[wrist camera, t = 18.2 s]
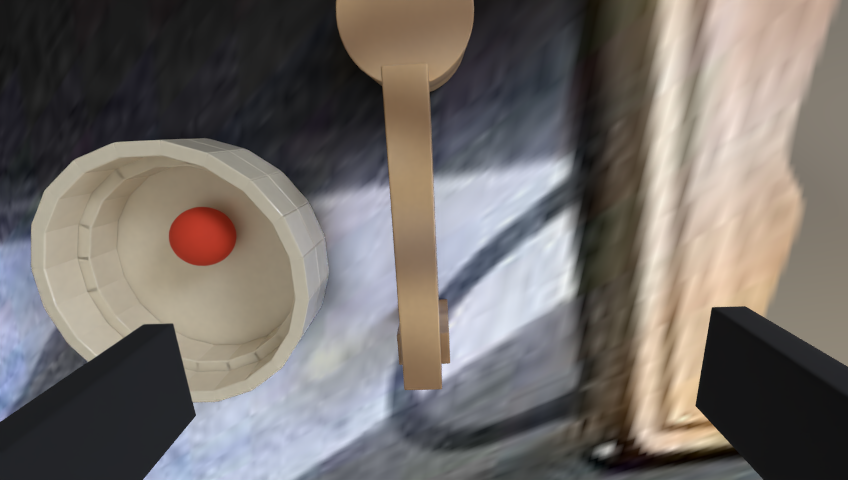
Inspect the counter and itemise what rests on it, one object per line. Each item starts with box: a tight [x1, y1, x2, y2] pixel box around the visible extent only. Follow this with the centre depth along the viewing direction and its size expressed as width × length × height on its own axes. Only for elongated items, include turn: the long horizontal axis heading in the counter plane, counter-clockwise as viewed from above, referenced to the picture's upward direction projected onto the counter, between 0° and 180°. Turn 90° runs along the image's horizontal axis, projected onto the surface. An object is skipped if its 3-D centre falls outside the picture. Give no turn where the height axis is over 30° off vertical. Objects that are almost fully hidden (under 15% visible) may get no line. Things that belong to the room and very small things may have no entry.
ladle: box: [336, 0, 474, 390], centre depth 22 cm, size 22×6×7 cm, turn 3°
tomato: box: [169, 207, 236, 266], centre depth 24 cm, size 4×4×4 cm
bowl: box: [31, 138, 329, 402], centre depth 25 cm, size 16×16×5 cm
